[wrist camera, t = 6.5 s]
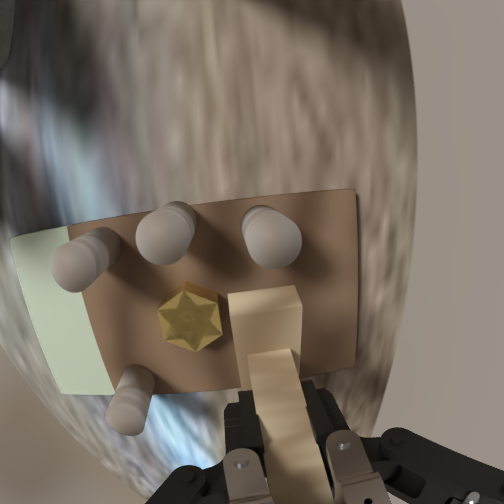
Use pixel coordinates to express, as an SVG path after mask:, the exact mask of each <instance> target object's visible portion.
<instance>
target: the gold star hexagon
mask: <svg viewBox="0 0 504 504" xmlns="http://www.w3.org/2000/svg"><path fill="white" fill-rule="evenodd" d="M157 312H158V317H159V321H160V325H161V329H162V333H163V337H164V341H167V342H169V343H172V344H175V345H177V346H180V347H183V348H186V349H188V350H191V351H194V352H197V351H199V350H200V349H202V348H203V347H205V346H206V345H208V344H209V343H211V342H212V341H214V340H215V339H217V338H218V337H220V336H221V335H223V332H222V318H221V312H220V305H219V299H218V293H216V292H214V291H211V290H209V289H206V288H203V287H201V286H198V285H196V284H193V283H191V282H188V281H185V282H184V283H183V284H181V285H180V286H179V287H177V288H176V289H175V290H173V291H172V292H171V293H169V294H168V295H167V296H166V297H164V298H163V299H162V300H161V302H160V304H159V306H158V309H157Z"/></svg>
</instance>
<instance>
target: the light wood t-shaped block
mask: <svg viewBox="0 0 504 504" xmlns="http://www.w3.org/2000/svg"><path fill="white" fill-rule="evenodd" d="M228 303H229V313H230V320H231V327H232V333H233V339H234V346H235V352H236V358H237V364H238V370H239V376H240V382H241V388H242V391H247V390H253V396H254V402H255V408H256V414H258V416H259V421H260V427H261V432H262V438H263V443H264V450H265V454H263V455H264V462H265V469H266V476H267V483H268V489H269V493H270V494H271V496H272V499H273V502H274V504H334V500H333V496H332V493H331V489H330V485H329V482H328V478H327V475H326V471H325V468H324V464H323V461H322V457H321V453H320V450H319V446H318V444H316V442H315V438H314V435H313V431H312V428H311V424H310V421H309V417H308V414H307V410H306V406H307V404H306V401H305V398H304V394H303V391H302V387H301V384H300V380H299V367H300V350H301V331H302V308H303V306H302V303H301V301H300V298H299V296H298V293H297V291H296V288H295V286H294V285H290V286H283V287H276V288H269V289H261V290H254V291H246V292H238V293H230V294H228Z"/></svg>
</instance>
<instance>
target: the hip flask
mask: <svg viewBox="0 0 504 504" xmlns="http://www.w3.org/2000/svg"><path fill="white" fill-rule="evenodd" d="M15 1H16V0H0V70H1V69H2V68H3V66H4V65H5V64H6V62H7V60H8V57H9V54H10V48H11V41H12V35H13V26H14V17H15Z"/></svg>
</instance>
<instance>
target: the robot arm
mask: <svg viewBox="0 0 504 504" xmlns="http://www.w3.org/2000/svg"><path fill="white" fill-rule="evenodd" d="M300 384H301V387H302V391H303V394H304V398H305V401H306V404H307V406H306V410H307V414H308V417H309V421H310V424H311V428H312V431H313V435H314V438H315V442H316V444H318V446H319V450H320V453H321V457H322V461H323V464H324V468H325V471H326V475H327V478H328V482H329V485H330V489H331V493H332V496H333V500H334V504H392V503H391V501H390V498H389V496H388V493H387V492H389V493H391V494H392V495H394V496H396V497H398V498H400V499H401V500H403V501H405V502H407V503H409V504H504V471H503V470H500V469H497V468H495V467H492V466H489V465H487V464H484V463H482V462H479V461H477V460H474V459H472V458H469V457H467V456H464V455H462V454H460V453H457V452H455V451H453V450H450V449H448V448H446V447H443V446H441V445H439V444H437V443H434V442H432V441H430V440H428V439H426V438H424V437H422V436H419V435H417V434H415V433H413V432H411V431H409V430H407V429H404V428H398V427H396V428H391V429H388V430H386V431H385V432H384V433H383V434H382V436H381V437H376V438H375V437H374V438H364V437H360V436H359V435H358V434H356V433H355V432H353V431H351V430H350V429H349V427H348V425H347V423H346V421H345V419H344V417H343V415H342V413H341V411H340V409H339V408H338V405H337V403H336V402H335V399H334V397H333V395H332V394H331V393H330V392H329V391H327V390H326V389H325V388H322V389H317V390H316V389H315V386H314V384H313V382H312V380H309V381H304V382H300ZM238 395H239V402H237V403H228V405H227V407H226V408H225V410H224V424H225V444H226V454H225V457H224V458H223V460H222V461H221V462H220V463H218V464H217V465H215V466H212V467H209V468H206V469H203V470H202V469H201V468H199V467H197V466H194V465H185V466H181V467H179V468H177V469H175V470H174V471H173V472H172V473H171V474H170V476H169V477H168V478H167V479H166V480H165V481H164V483H163V484H162V485H161V486H160V487H159V488H158V490H157V491H156V492H155V493H154V494H153V495H152V496H151V497H150V499H149V500H148V501H147V502H146V503H145V504H274V502H273V499H272V496H271V494H270V493H269V490H268V487H267V483H266V480H265V478H266V477H267V476H266V469H265V462H264V455H263V454H265V450H264V443H263V438H262V432H261V427H260V421H259V416H258V414H256V408H255V402H254V396H253V390H247V391H239V392H238Z"/></svg>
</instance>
